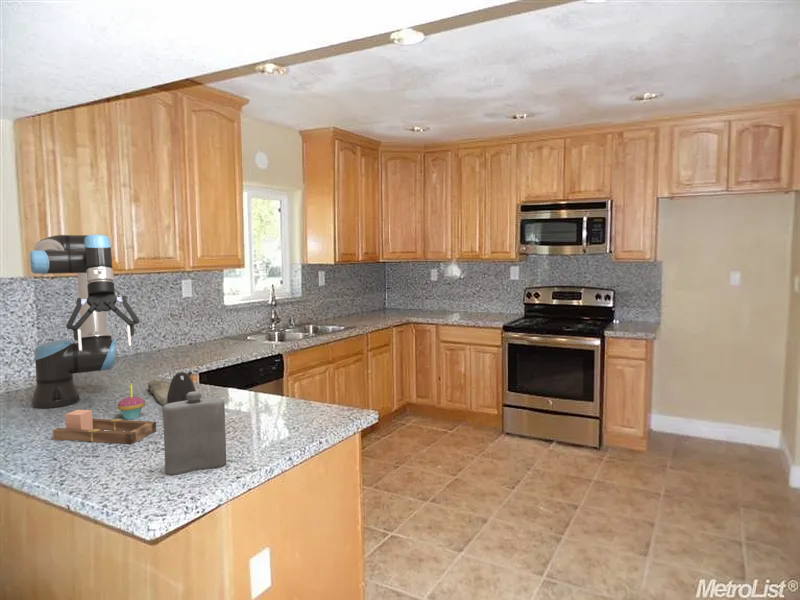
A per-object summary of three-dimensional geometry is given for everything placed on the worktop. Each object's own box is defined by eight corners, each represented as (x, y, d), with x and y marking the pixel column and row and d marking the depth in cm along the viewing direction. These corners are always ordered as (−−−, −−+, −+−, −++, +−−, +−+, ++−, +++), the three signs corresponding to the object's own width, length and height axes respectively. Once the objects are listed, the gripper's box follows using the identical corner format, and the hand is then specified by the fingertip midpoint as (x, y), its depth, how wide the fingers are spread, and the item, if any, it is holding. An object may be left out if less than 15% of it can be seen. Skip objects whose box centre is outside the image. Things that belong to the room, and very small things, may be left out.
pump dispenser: (204, 411, 189) (203, 369, 187) (185, 420, 179) (184, 376, 177) (180, 409, 191) (178, 368, 190) (160, 418, 181) (158, 374, 180)
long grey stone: (157, 413, 193) (186, 410, 198) (158, 398, 192) (187, 396, 198) (143, 387, 222) (169, 385, 227) (144, 375, 221) (169, 373, 227)
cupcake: (120, 415, 185) (118, 381, 184) (146, 412, 188) (145, 379, 187) (116, 422, 177) (114, 387, 176) (144, 419, 180) (142, 384, 179)
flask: (224, 458, 145) (222, 387, 143) (227, 466, 140) (225, 392, 138) (165, 468, 139) (162, 393, 137) (165, 476, 134) (162, 399, 132)
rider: (78, 431, 168) (77, 409, 168) (93, 431, 168) (91, 410, 167) (66, 436, 164) (65, 414, 163) (81, 437, 163) (80, 414, 162)
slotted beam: (83, 427, 172) (82, 417, 172) (156, 430, 168) (155, 420, 168) (53, 439, 160) (52, 429, 160) (131, 444, 156) (131, 433, 156)
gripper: (53, 282, 160) (57, 351, 157) (144, 278, 173) (150, 342, 170) (55, 287, 167) (59, 354, 164) (142, 283, 179) (148, 345, 176)
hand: (105, 348), depth 167 cm, fingers open, 13 cm apart
